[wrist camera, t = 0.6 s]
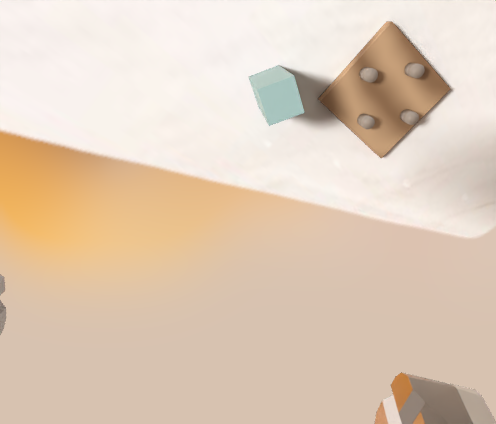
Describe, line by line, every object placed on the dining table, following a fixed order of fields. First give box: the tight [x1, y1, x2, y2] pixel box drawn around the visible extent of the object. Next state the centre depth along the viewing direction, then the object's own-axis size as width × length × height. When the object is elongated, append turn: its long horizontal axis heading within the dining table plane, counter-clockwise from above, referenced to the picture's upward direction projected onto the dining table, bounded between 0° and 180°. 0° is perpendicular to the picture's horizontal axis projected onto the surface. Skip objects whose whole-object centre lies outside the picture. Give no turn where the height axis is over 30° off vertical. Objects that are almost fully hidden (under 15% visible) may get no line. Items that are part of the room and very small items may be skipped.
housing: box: [318, 21, 450, 158], centre depth 50 cm, size 12×12×4 cm
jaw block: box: [249, 65, 305, 126], centre depth 46 cm, size 4×4×10 cm
